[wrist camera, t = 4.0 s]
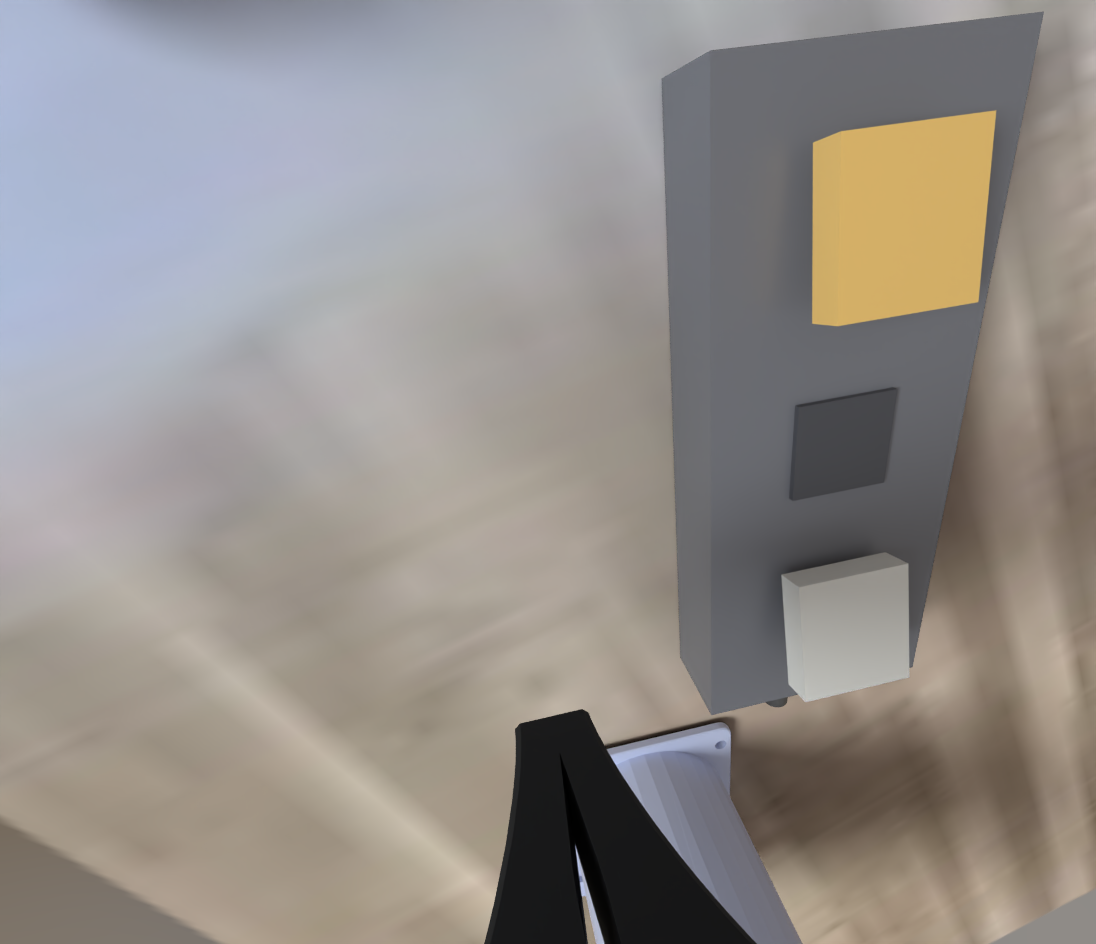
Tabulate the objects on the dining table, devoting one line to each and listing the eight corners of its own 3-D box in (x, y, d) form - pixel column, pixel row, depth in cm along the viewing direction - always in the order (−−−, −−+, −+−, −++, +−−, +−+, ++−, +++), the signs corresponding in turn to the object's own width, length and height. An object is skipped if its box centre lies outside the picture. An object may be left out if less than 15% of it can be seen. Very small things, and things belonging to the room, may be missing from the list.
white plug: (887, 660, 20) (909, 677, 19) (788, 684, 19) (805, 702, 18) (885, 551, 19) (908, 563, 18) (781, 574, 18) (798, 587, 17)
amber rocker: (944, 301, 15) (978, 302, 14) (812, 323, 14) (837, 326, 13) (958, 122, 13) (996, 110, 12) (813, 142, 13) (840, 131, 12)
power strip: (852, 669, 26) (904, 727, 23) (682, 709, 25) (713, 774, 22) (941, 44, 16) (1052, 8, 13) (661, 78, 15) (714, 48, 12)
